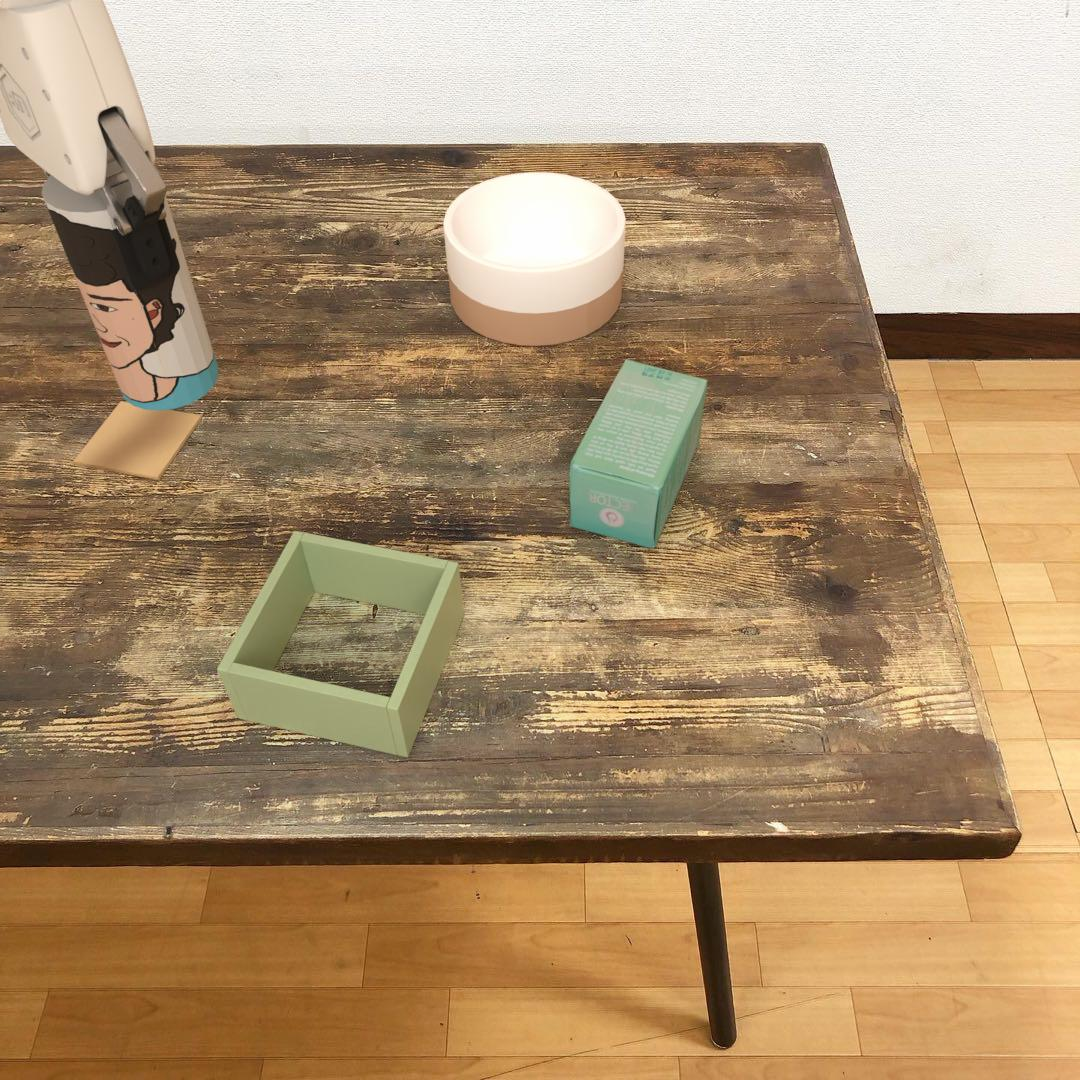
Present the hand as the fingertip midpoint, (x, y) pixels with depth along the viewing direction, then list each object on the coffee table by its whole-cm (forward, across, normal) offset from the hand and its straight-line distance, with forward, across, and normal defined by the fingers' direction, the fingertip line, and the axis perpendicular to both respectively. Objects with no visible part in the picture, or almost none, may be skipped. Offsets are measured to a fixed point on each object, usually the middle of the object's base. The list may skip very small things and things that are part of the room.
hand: (124, 253), depth 67 cm
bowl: (+26, -5, +40) cm, 48 cm away
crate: (+26, +18, 0) cm, 31 cm away
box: (+26, +20, +27) cm, 43 cm away
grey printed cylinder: (+10, 0, 0) cm, 10 cm away
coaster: (+26, -14, +1) cm, 29 cm away
